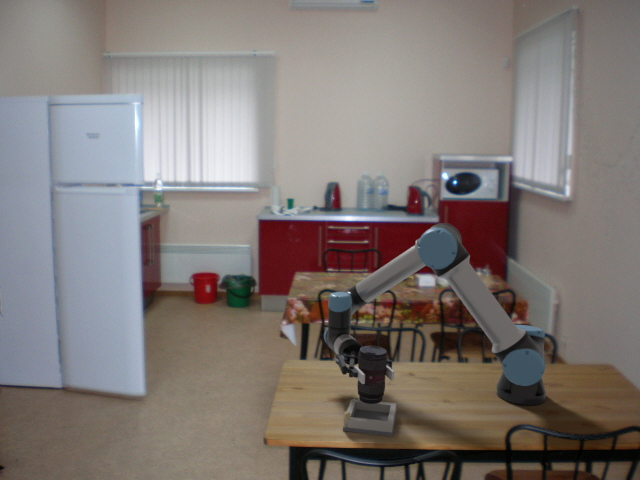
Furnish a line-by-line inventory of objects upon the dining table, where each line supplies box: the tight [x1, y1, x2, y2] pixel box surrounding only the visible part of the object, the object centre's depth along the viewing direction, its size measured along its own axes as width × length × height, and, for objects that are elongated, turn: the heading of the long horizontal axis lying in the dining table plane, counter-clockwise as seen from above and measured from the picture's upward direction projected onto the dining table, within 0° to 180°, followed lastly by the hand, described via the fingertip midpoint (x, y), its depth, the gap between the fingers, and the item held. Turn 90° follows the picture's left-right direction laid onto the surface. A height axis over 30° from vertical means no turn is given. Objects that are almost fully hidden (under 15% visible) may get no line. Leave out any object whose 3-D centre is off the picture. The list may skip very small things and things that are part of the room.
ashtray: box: [342, 398, 398, 437], centre depth 173 cm, size 14×14×5 cm
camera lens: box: [356, 345, 388, 404], centre depth 171 cm, size 8×8×15 cm
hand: (378, 377), depth 167 cm, fingers closed on camera lens, 8 cm apart
